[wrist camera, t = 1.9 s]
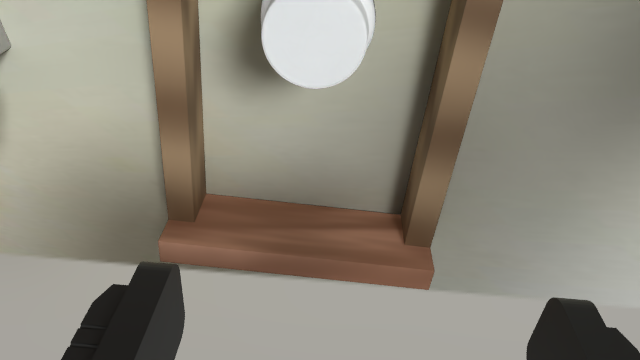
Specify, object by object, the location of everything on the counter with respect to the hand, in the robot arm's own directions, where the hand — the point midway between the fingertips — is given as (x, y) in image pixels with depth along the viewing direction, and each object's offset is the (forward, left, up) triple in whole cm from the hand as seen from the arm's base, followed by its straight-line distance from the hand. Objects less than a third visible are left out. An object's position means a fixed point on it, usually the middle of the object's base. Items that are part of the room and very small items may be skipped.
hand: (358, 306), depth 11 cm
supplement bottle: (-2, -2, -19) cm, 19 cm away
